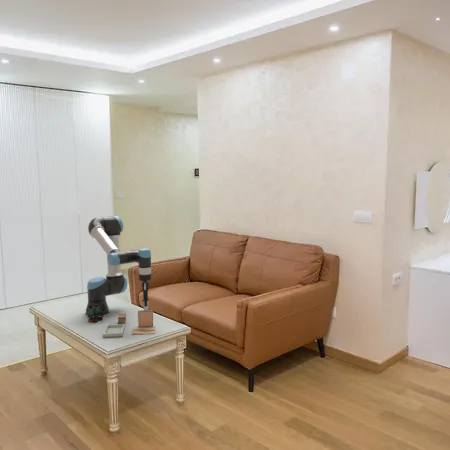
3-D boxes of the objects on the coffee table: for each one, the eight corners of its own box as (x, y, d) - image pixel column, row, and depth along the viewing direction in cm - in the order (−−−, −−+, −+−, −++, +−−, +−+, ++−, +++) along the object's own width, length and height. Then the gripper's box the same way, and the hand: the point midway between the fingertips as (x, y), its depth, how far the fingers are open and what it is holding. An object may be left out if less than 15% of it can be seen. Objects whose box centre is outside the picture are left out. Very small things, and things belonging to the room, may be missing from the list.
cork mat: (133, 328, 267) (133, 327, 267) (154, 327, 269) (154, 326, 269) (131, 334, 257) (131, 334, 256) (154, 333, 258) (154, 333, 258)
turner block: (119, 321, 280) (119, 312, 280) (126, 321, 281) (125, 312, 280) (118, 326, 271) (118, 317, 270) (124, 326, 271) (124, 317, 271)
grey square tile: (138, 326, 271) (138, 310, 270) (153, 325, 272) (152, 310, 271) (138, 327, 269) (137, 311, 268) (153, 326, 271) (152, 310, 269)
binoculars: (95, 309, 274) (85, 305, 279) (95, 325, 275) (85, 320, 281) (107, 305, 281) (97, 301, 286) (106, 321, 283) (96, 316, 288)
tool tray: (106, 328, 268) (106, 324, 268) (125, 327, 269) (125, 323, 269) (102, 337, 252) (102, 334, 252) (122, 336, 253) (122, 333, 253)
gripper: (139, 271, 277) (140, 307, 280) (138, 276, 264) (139, 314, 267) (151, 271, 278) (152, 307, 281) (150, 275, 265) (151, 313, 268)
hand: (146, 310), depth 274 cm, fingers closed
